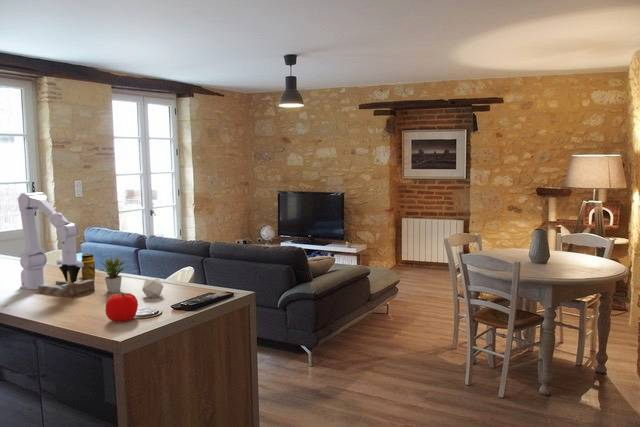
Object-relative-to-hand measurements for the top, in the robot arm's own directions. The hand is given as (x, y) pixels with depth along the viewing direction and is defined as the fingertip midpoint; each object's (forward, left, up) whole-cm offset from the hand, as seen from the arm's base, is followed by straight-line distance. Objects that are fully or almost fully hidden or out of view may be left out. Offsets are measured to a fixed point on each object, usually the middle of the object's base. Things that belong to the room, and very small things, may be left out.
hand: (71, 281), depth 234 cm
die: (+38, +9, -5) cm, 40 cm away
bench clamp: (-4, 0, -5) cm, 6 cm away
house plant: (+16, +9, -5) cm, 19 cm away
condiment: (-16, +22, -5) cm, 27 cm away
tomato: (+51, -21, -5) cm, 56 cm away
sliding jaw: (0, 0, -3) cm, 3 cm away
